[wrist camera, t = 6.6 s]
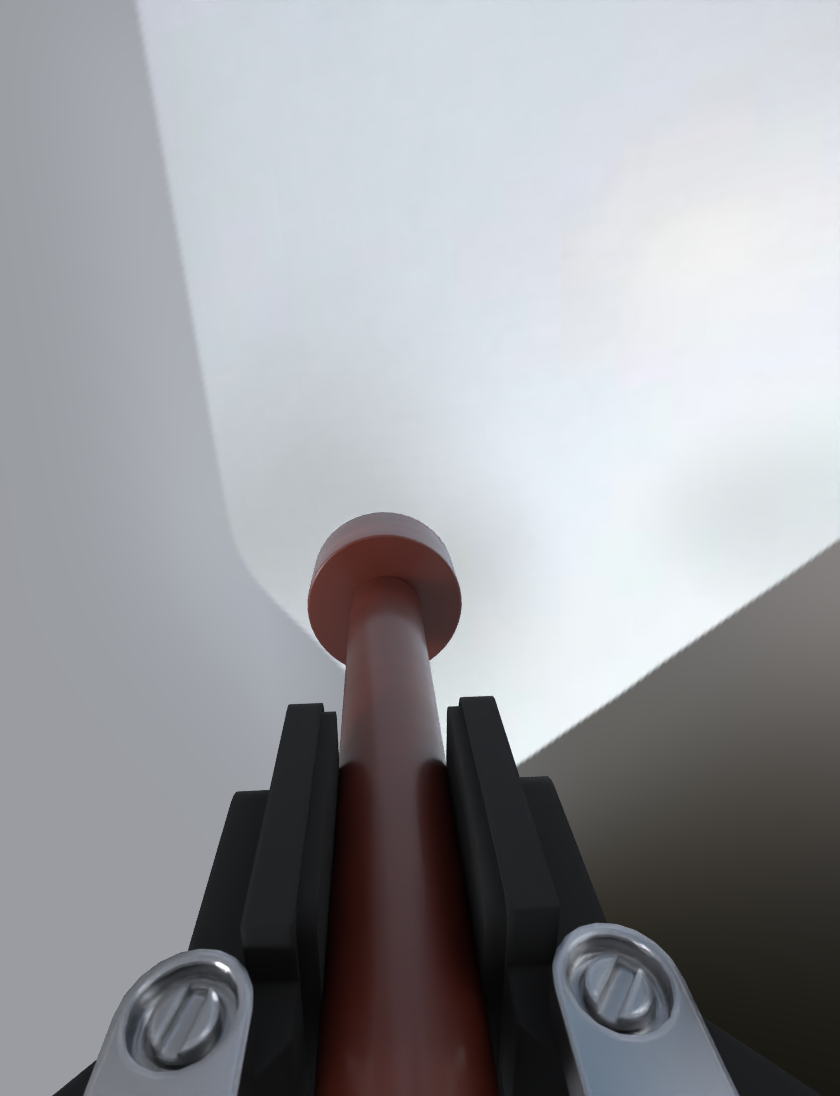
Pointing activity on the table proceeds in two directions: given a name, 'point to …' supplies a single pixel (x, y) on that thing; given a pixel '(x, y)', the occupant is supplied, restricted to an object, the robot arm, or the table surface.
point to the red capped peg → (395, 829)
